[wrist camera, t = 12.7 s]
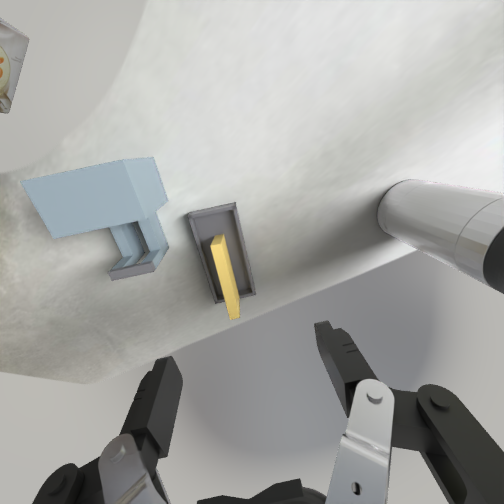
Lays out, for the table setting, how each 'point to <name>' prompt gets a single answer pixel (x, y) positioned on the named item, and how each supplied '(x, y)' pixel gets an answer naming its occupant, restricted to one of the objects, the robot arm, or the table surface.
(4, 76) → the coffee box
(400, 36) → the table surface
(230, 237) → the tray
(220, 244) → the ticket
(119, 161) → the dispenser
